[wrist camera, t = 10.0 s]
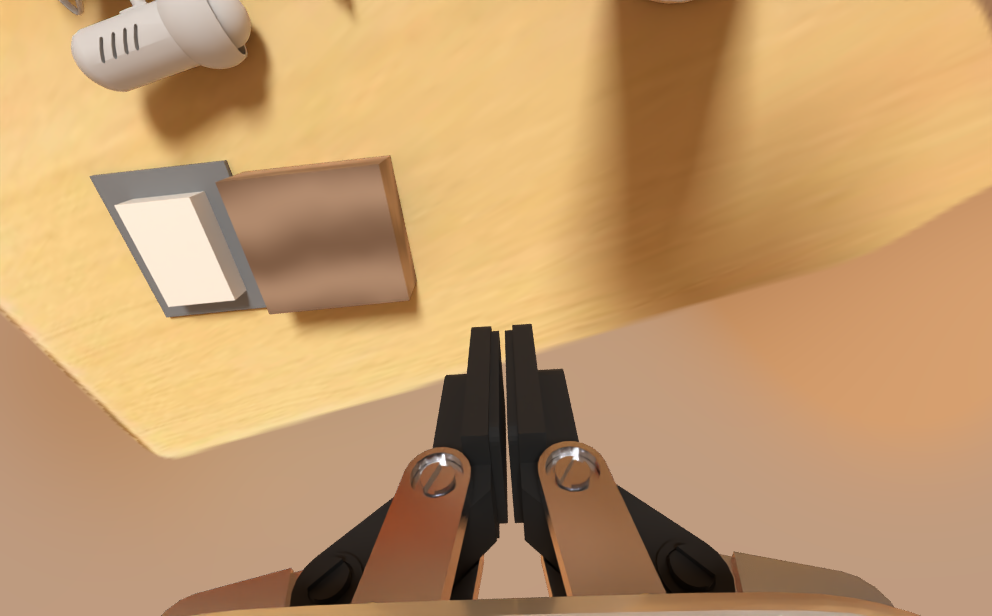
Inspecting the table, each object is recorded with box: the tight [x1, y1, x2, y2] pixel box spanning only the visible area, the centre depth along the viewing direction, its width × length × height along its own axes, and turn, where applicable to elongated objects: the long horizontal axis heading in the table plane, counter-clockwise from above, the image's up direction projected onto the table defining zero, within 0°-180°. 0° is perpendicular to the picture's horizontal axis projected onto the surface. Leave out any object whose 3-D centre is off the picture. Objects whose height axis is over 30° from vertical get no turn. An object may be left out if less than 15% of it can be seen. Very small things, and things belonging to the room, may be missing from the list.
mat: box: [90, 160, 266, 317], centre depth 37 cm, size 13×11×1 cm
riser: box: [215, 156, 417, 314], centre depth 35 cm, size 11×12×4 cm
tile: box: [114, 191, 246, 307], centre depth 36 cm, size 9×6×2 cm, turn 6°
